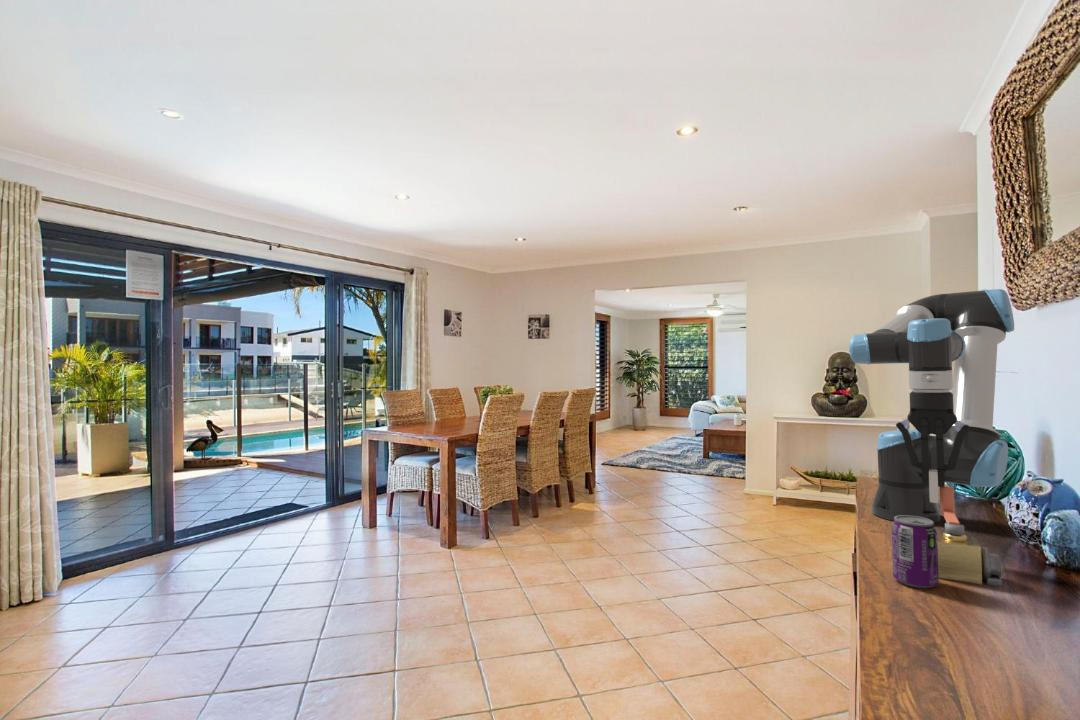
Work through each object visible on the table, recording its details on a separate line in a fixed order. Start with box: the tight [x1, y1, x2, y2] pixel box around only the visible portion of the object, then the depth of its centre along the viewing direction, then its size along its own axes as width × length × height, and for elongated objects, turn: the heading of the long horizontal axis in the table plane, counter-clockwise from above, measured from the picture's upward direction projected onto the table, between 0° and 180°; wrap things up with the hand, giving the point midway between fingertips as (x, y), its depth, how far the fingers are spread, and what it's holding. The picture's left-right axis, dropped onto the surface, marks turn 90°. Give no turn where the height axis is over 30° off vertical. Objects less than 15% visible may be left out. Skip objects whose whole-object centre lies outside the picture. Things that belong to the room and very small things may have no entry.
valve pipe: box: [937, 531, 1003, 587], centre depth 103 cm, size 6×13×8 cm, turn 58°
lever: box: [939, 485, 965, 535], centre depth 107 cm, size 13×3×7 cm, turn 148°
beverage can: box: [891, 515, 940, 589], centre depth 100 cm, size 7×7×12 cm
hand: (934, 501), depth 112 cm, fingers closed
